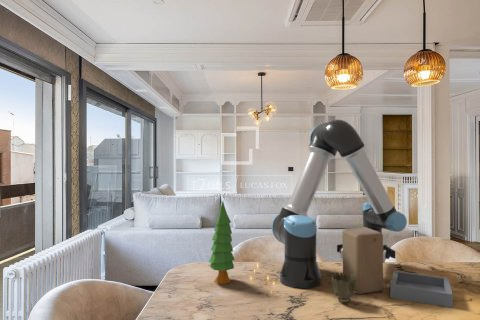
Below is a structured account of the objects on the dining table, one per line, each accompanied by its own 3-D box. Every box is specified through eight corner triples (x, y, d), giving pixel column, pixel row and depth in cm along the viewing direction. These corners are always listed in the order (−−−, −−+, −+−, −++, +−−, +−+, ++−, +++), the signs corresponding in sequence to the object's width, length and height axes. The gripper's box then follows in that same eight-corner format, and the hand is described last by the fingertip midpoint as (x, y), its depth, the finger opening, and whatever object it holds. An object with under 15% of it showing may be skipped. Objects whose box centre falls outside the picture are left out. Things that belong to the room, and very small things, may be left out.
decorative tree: (218, 287, 118) (218, 201, 119) (203, 280, 125) (203, 199, 126) (240, 281, 124) (239, 199, 125) (224, 274, 131) (224, 198, 132)
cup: (353, 308, 100) (353, 281, 100) (328, 303, 104) (328, 277, 104) (359, 300, 106) (358, 274, 106) (335, 295, 110) (335, 271, 110)
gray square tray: (390, 297, 108) (390, 285, 108) (394, 281, 123) (393, 270, 123) (452, 307, 100) (452, 294, 100) (448, 289, 115) (448, 277, 115)
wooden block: (384, 291, 112) (384, 232, 112) (357, 295, 110) (357, 234, 110) (366, 280, 122) (366, 226, 122) (341, 283, 120) (341, 228, 119)
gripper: (404, 256, 129) (402, 272, 111) (338, 249, 141) (326, 262, 122) (403, 237, 130) (401, 249, 111) (337, 231, 141) (325, 242, 122)
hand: (361, 256), depth 116 cm, fingers closed on wooden block, 13 cm apart
